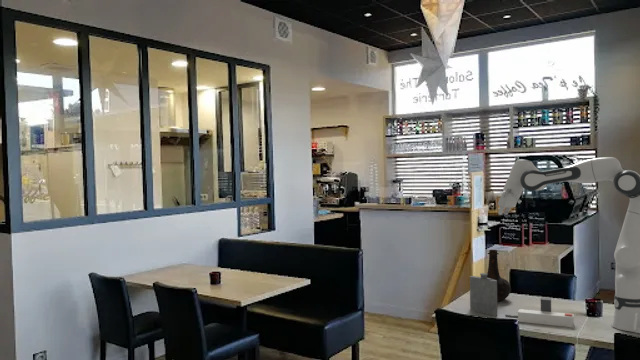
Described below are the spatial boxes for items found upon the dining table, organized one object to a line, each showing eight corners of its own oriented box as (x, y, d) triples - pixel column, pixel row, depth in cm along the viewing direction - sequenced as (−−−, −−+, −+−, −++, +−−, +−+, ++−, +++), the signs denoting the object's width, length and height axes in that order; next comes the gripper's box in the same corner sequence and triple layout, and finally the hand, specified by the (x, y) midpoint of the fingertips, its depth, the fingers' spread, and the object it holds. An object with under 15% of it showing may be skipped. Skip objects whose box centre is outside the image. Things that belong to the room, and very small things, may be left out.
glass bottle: (500, 305, 283) (500, 253, 283) (471, 299, 296) (470, 250, 296) (516, 299, 295) (516, 249, 295) (488, 294, 308) (487, 246, 308)
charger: (541, 317, 257) (541, 297, 257) (551, 318, 256) (551, 297, 255) (540, 320, 251) (540, 300, 251) (550, 321, 249) (550, 301, 249)
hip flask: (469, 309, 275) (468, 271, 274) (474, 308, 277) (473, 270, 277) (494, 316, 262) (494, 276, 261) (499, 314, 264) (499, 275, 264)
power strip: (506, 317, 260) (506, 306, 260) (573, 323, 247) (573, 312, 246) (504, 320, 254) (504, 309, 254) (573, 327, 241) (573, 315, 241)
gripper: (513, 191, 255) (502, 217, 258) (523, 192, 272) (513, 216, 275) (501, 186, 259) (490, 212, 261) (512, 187, 276) (502, 211, 278)
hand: (502, 214), depth 268 cm, fingers open, 8 cm apart
